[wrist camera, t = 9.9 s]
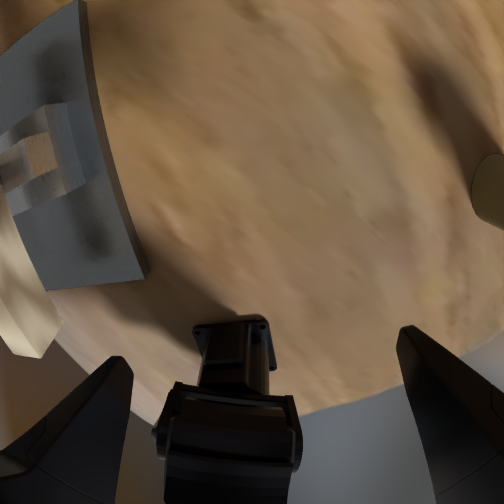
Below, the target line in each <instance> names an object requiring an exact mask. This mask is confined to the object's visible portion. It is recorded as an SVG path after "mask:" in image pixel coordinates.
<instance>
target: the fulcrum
mask: <svg viewBox="0 0 504 504" xmlns="http://www.w3.org/2000/svg"><path fill="white" fill-rule="evenodd" d="M0 176H1V179H2V183H3V184H2V186H3V190H4V193H5V196H6V199H7V202H8V205H9V208H10V211H11V214H12V217H13V219H14V222H15V225H16V227H17V230H18V232H19V235H20V237H21V240H22V242H23V244H24V247H25V249H26V251H27V254H28V256H29V258H30V260H31V262H32V264H33V267H34V269H35V271H36V273H37V275H38V277H39V279H40V281H41V283H42V285H43V286H44V288H45V290H46V291H48V290H57V289H66V288H74V287H83V286H91V285H100V284H108V283H117V282H125V281H133V280H141V279H145V278H146V276H147V275H148V273H149V271H150V269H149V267H148V264H147V261H146V259H145V256H144V254H143V251H142V248H141V245H140V243H139V240H138V237H137V234H136V231H135V229H134V226H133V223H132V220H131V217H130V214H129V211H128V208H127V205H126V201H125V198H124V195H123V192H122V189H121V185H120V182H119V178H118V175H117V171H116V168H115V164H114V161H113V157H112V153H111V149H110V145H109V141H108V137H107V133H106V129H105V125H104V120H103V116H102V111H101V106H100V101H99V96H98V91H97V86H96V80H95V74H94V68H93V61H92V54H91V47H90V39H89V30H88V19H87V5H86V2H85V1H83V0H74V1H72V2H71V3H69V4H68V5H66V6H64V7H63V8H61V9H60V10H58V11H57V12H55V13H54V14H52V15H51V16H49V17H48V18H47V19H45V20H44V21H42V22H41V23H40V24H38V25H37V26H36V27H34V28H33V29H32V30H30V31H29V32H28V33H27V34H25V35H24V36H23V37H22V38H20V39H19V40H18V41H17V42H16V43H14V44H13V45H12V46H11V47H10V48H9V49H8V50H6V51H5V52H4V53H3V54H2V55H1V56H0Z"/></svg>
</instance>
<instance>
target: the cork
mask: <svg viewBox="0 0 504 504" xmlns="http://www.w3.org/2000/svg"><path fill="white" fill-rule="evenodd" d="M471 199H472V205H473V208H474V211H475V213H476V215H477V216H478V217H479V218H480V219H481V220H483V221H485V222H487V223H489V224H492V225H494V226H496V227H498V228H500V229H502V230H504V157H503V156H501V155H500V154H491V155H489V156H487V157H486V158H485V159H484V160H483V161H482V162H481V163H480V164H479V166H478V168H477V170H476V172H475V174H474V179H473V183H472V191H471Z"/></svg>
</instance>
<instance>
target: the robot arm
mask: <svg viewBox="0 0 504 504" xmlns="http://www.w3.org/2000/svg"><path fill="white" fill-rule="evenodd" d="M261 325H265V326H261ZM198 331H200V332H198ZM192 334H193V336H194V338H195V341H196V343H197V345H198V347H199V350H200V352H201V354H202V356H203V357H202V362H201V367H200V371H199V376H198V381H197V386H192V385H187V384H183V383H182V382H177V381H176V382H175V384H174V387H173V389H171V390H170V392H169V393H168V396H167V400H166V402H165V405H164V408H163V410H162V413H161V415H160V417H159V418H158V420H157V422H156V423H155V425H154V426H153V428H152V437H153V438H154V439H155V441H156V446H157V455H158V457H159V459H164V460H165V473H164V502H165V503H166V504H287V497H288V488H289V484H290V478H291V474H292V473H295V472H296V471H297V470H298V468H299V466H300V463H301V459H302V452H303V436H302V430H301V426H300V422H299V418H298V414H297V410H296V406H295V402H294V398H293V395H285V396H275V395H269V371H275V370H276V369H277V363H276V358H275V353H274V348H273V343H272V337H271V332H270V327H269V323H268V321H267V320H265V319H260V320H251V321H241V322H232V323H221V324H210V325H198V326H194V327H193V330H192ZM396 351H397V356H398V360H399V364H400V368H401V372H402V376H403V381H404V385H405V390H406V393H407V397H408V400H409V403H410V406H411V409H412V412H413V415H414V418H415V421H416V425H417V428H418V431H419V435H420V438H421V442H422V445H423V449H424V452H425V456H426V460H427V463H428V468H429V472H430V476H431V480H432V485H433V489H434V494H435V500H436V504H504V393H503V392H502V391H501V390H499V389H498V388H497V387H495V386H494V385H492V384H491V383H490V382H489V381H488V380H486V379H485V378H484V377H483V376H481V375H480V374H479V373H477V372H476V371H475V370H473V369H472V368H471V367H469V366H468V365H467V364H465V363H464V362H463V361H461V360H460V359H459V358H458V357H456V356H455V355H454V354H452V353H451V352H450V351H448V350H447V349H446V348H444V347H443V346H442V345H440V344H439V343H437V342H436V341H435V340H433V339H432V338H431V337H429V336H428V335H427V334H425V333H424V332H422V331H421V330H420V329H418V328H417V327H415V326H414V325H409V326H405V327H402V328H401V329H400V331H399V336H398V340H397V344H396ZM133 379H134V374H133V371H132V369H131V368H130V366H129V365H128V363H127V362H126V360H125V359H124V358H123V357H122V356H111V357H110V358H109V359H107V360H106V361H105V362H104V363H103V364H102V365H101V366H100V367H98V368H97V369H96V370H95V371H94V372H93V373H92V374H91V375H89V376H88V377H87V378H86V379H85V380H84V381H83V382H82V383H81V384H79V385H78V386H77V387H76V388H75V389H74V390H73V391H72V392H70V393H69V394H68V395H67V396H66V397H65V398H64V399H63V400H62V401H61V402H60V403H58V404H57V405H56V406H55V407H54V408H53V409H52V410H51V411H50V412H48V414H47V415H45V416H44V417H43V418H42V419H41V420H40V421H38V422H37V423H36V424H35V425H34V426H33V427H32V428H30V429H29V430H28V431H27V432H25V433H24V434H23V435H22V436H20V437H19V438H18V439H16V440H15V441H14V442H12V443H11V444H10V445H8V446H7V447H6V448H4V449H3V450H1V451H0V504H115V497H116V490H117V482H118V475H119V469H120V462H121V456H122V451H123V445H124V440H125V434H126V429H127V424H128V419H129V414H130V405H131V396H132V387H133Z"/></svg>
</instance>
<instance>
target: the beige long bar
mask: <svg viewBox="0 0 504 504" xmlns="http://www.w3.org/2000/svg"><path fill="white" fill-rule="evenodd" d="M2 184H3V183H2V179H1V176H0V335H1V337H2V338H3V340H4V341H5V342H6V344H7V345H8V347H9V348H10V349H11V351H12V352H13V353H14V354H17V355H23V356H29V357H35V358H41V357H42V356H43V354H44V352H45V351H46V349H47V348H48V346H49V345H50V343H51V342H52V340H53V339H54V337H55V336H56V334H57V333H58V331H59V330H60V329H61V327H62V326H63V324H64V321H63V320H62V318H61V317H60V315H59V313H58V312H57V310H56V308H55V306H54V305H53V303H52V301H51V299H50V298H49V296H48V294H47V292H46V290H45V288H44V286H43V285H42V283H41V281H40V279H39V277H38V275H37V273H36V271H35V269H34V267H33V264H32V262H31V260H30V258H29V256H28V254H27V251H26V249H25V247H24V244H23V242H22V240H21V237H20V235H19V232H18V230H17V227H16V225H15V222H14V219H13V217H12V214H11V211H10V208H9V205H8V202H7V199H6V196H5V193H4V190H3V186H2Z"/></svg>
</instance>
